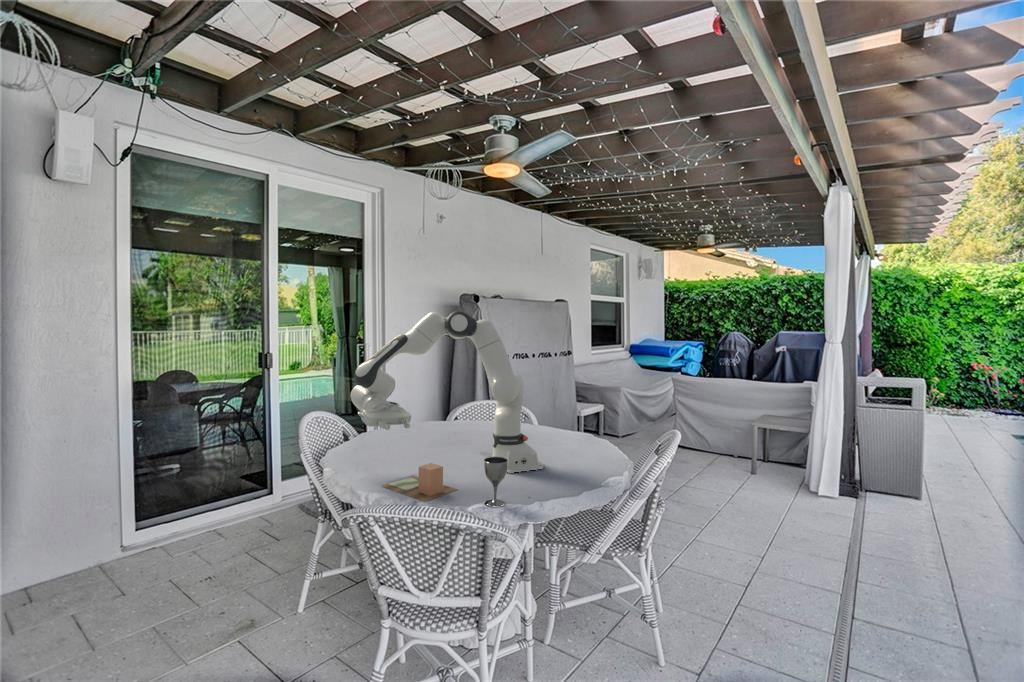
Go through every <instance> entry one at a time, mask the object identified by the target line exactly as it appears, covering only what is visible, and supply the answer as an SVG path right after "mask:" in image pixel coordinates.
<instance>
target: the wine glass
mask: <svg viewBox="0 0 1024 682" xmlns="http://www.w3.org/2000/svg"><path fill="white" fill-rule="evenodd" d="M507 465H508V460H507V459H506V458H504V457H492V456H487V457H485V458H484V459H483V467H484V474H485V477H486V479H487V480H488V481H489V482H490V483H491V485H492V488H493V499H494V500H493V499H489V500H486V501H484V505H485V504H487V505H490V506H501V505H503V504H505V503H506V502H505V501H504V500H502V499H497V492H498V486H499V484H501V482H502V481H503V480H505V477H506V475H507ZM501 500H502V501H501ZM503 501H504V502H505V503H504V502H503ZM505 505H506V504H505Z"/></svg>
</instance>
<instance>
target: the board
mask: <svg viewBox="0 0 1024 682" xmlns="http://www.w3.org/2000/svg"><path fill="white" fill-rule="evenodd" d="M380 487H381V488H384V489H387V490H389V491H393V492H395V493H398V494H401V495H403V496H407V497H409V498H412V499H415V500H418V501H420V502H423V503H426V502H429V501H432V500H436V499H437V498H438V499H439V498H440V497H443V496H445V495H448V494H452V493H454V492H456V491H459V489H458V488H454V487H452V486H448V485H445V484H443V491H442V492H440V493H437V494H434V495H431V496H429V495H426V494H423V493H420V492H418V488H419V476H417V475H410V476H408V477H405V478H401V479H398V480H395V481H391V482H390V483H385V484H382V485H380Z"/></svg>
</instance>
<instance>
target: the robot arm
mask: <svg viewBox="0 0 1024 682" xmlns="http://www.w3.org/2000/svg"><path fill="white" fill-rule="evenodd" d="M444 336H445V337H448V338H450V339H452V340H455V341H462V340H465V339H466V338H468V339H470V340H471V341H472V344H474V346H475V349H476V351H477V354H478V356H479V358H480V360H481V362H482V364H483V368H484V371H485V374H486V377H487V381H488V384H489V387H490V391H491V395H492V397H493V399H494V400H495V401H496V403H495V411H494V415H493V416H494V417H493V433H492V455H491V457H504V458H506V459H507V460H508V465H507V472H508V474H515V473H514V472H519V473H522V472H521V471H527V472H530V471H529V470H535V469H541V468H543V469H544V464H543V462H542V461H540V460H539V457H538V454H537V453H538V452H536V451H537V450H535V449H534V448H533V447H532V446H530V445H529V444H528V443H527V441H528V440H529V437H528V436H527V435H525V434H523V433H522V432H521V426H522V425H521V423H522V421H521V420H522V407H523V398H524V397H523V396H524V381H523V379H522V377H521V376H520V375H519V374H517V373H515V372H514V371H513V368H512V365H511V361H510V356H509V354H508V352H507V350H506V347H505V345H504V343H503V340H502V338H501V336H500V334H499V333H498V331H497V329H496V327H495V326H494V325H493V323H492V322H491V321H490V320H488V319H484V318H483V319H479V320H476V319H475V318H474V317H472V316H471V315H470V314H469V313H467V312H465V311H463V310H455V311H453V312H451V313H450V314H449V315H448V316H447V317H446V316H443V315H442V314H441V313H439V312H436V311H431V312H429V313H427V314H426V315H424V316H423V317H422V318H421V319H420V320H419V321H418V322H416V324H415V325H414V326H413V327H412V328H411V329H409V330H408V331H407V332H405V333H403V334H398V335H396V336H395V337H394V338H392V339H391V340H389V341H388V342H387V343H386V344H384V346H383V347H381V348H380V349H379V350H378V351H377V352H375V353H374V354H373V355H372V356H370V357H369V358H367V359H366V360H364V361H363V362H362V363H360V364H359V365H358V366H357V367H356V368H355V370H354V375H353V376H354V381H355V384H357V385H355V386H354V387H353V388H352V390H351V392H350V400H351V402H352V404H353V405H354V406H355V407H356V408H357V409H358V410H359V411H358V412H357V415H358V416H359V417H360V419H361V421H362V423H364V425H366V426H368V427H370V428H371V427H379V428H381V429H383V430H385V431H390V430H391V426H399V425H400V426H401V425H403V427H404V428H405V429H410V427H411V424H410V423H411V421H412V414H411V413H410V412H409V411H408V410H406V409H405V408H403V407H402V406H400V404H399V403H398V402H395V401H389V400H388V398H389V397H390V396H391V395H392V394H393V392H394V391H395V387H396V380H395V378H394V377H393V376H391V375H390V374H389V373H387V372H386V371H384V370H383V369H382V368H383V367H384V366H385V365H386V364H387V363H389V362H390V361H391V360H392V359H393V358H394V357H395V356H397V355H399V354H408V355H414V356H420V355H424V354H427V352H429V351H430V349H432V348H433V346H434V345H435V344H436V343H437V342H438V341H439V339H441V338H442V337H444ZM507 472H506V473H507Z"/></svg>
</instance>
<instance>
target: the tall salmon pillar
mask: <svg viewBox="0 0 1024 682" xmlns="http://www.w3.org/2000/svg"><path fill="white" fill-rule="evenodd" d="M418 477H419V488H418V492H420V493H423V494H426V495H429V496H431V495H434V494H437V493H440V492H442V491H443V485H444V465H443V466H442V465H439V464H436V463H432V462H431V463H427V464H424V465H421V466H418Z"/></svg>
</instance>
